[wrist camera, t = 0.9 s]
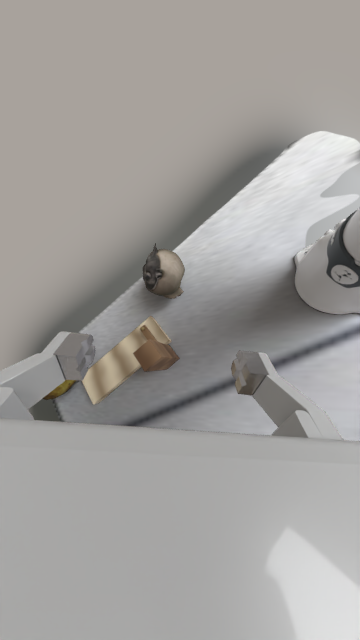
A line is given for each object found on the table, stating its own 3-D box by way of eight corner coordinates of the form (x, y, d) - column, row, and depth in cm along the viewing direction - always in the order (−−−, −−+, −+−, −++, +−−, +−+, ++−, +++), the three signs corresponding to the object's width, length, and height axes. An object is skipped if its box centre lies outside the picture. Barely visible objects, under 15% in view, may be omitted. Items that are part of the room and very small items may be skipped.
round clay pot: (147, 283, 49) (165, 311, 45) (122, 258, 38) (144, 293, 34) (176, 261, 48) (197, 287, 45) (160, 229, 37) (187, 261, 33)
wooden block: (154, 324, 45) (129, 311, 34) (179, 358, 42) (162, 356, 30) (142, 334, 46) (114, 324, 34) (166, 369, 42) (144, 371, 31)
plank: (153, 317, 46) (150, 315, 44) (171, 341, 43) (169, 340, 41) (85, 376, 47) (79, 376, 45) (99, 403, 44) (93, 404, 42)
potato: (100, 366, 47) (75, 366, 39) (66, 401, 47) (35, 408, 39) (84, 344, 49) (58, 340, 42) (52, 377, 49) (21, 379, 42)
